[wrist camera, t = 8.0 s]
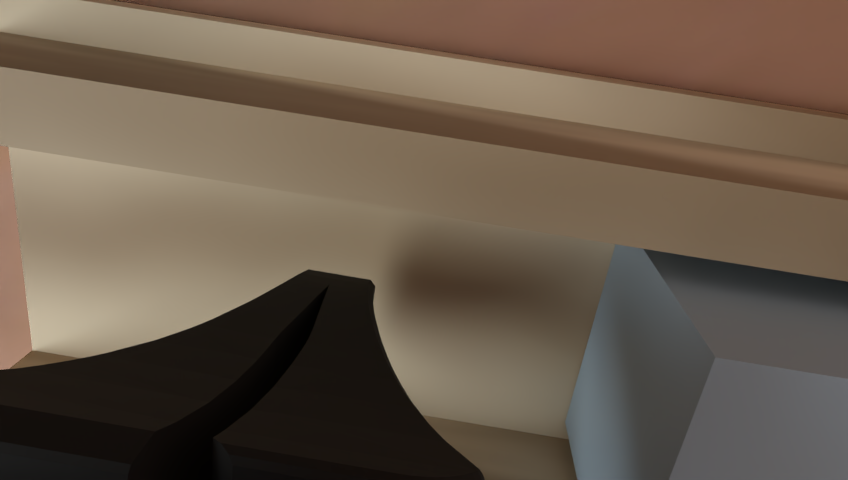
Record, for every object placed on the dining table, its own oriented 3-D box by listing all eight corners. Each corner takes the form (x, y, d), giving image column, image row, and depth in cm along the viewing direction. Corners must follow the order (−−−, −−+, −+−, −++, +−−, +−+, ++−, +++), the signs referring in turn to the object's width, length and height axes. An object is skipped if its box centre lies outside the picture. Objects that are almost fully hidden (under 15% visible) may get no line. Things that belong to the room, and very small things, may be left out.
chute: (786, 515, 16) (882, 674, 12) (65, 393, 16) (-57, 513, 12) (972, 134, 12) (1195, 196, 8) (26, -14, 12) (-168, -17, 9)
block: (783, 458, 14) (938, 690, 9) (565, 422, 14) (610, 633, 9) (876, 258, 12) (1129, 424, 7) (622, 218, 12) (715, 356, 7)
